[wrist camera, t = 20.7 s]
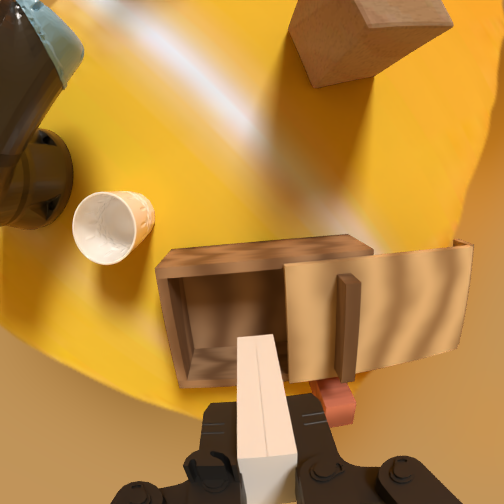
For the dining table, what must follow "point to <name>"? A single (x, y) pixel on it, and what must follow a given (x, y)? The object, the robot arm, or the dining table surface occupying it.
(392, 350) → the lid
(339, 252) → the toolbox
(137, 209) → the white cup
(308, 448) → the robot arm
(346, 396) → the reddish-brown wooden bar
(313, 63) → the wooden block
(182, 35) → the dining table surface
